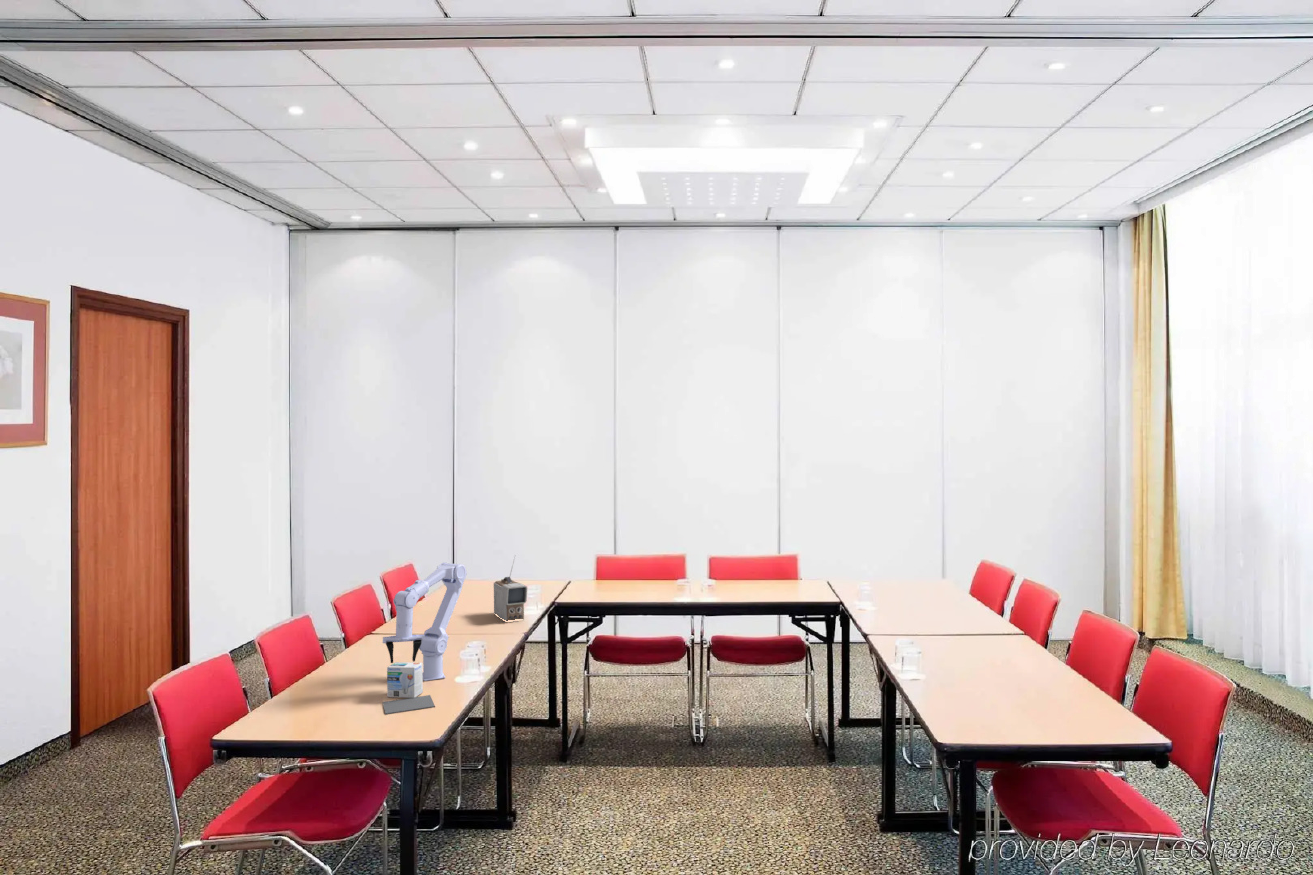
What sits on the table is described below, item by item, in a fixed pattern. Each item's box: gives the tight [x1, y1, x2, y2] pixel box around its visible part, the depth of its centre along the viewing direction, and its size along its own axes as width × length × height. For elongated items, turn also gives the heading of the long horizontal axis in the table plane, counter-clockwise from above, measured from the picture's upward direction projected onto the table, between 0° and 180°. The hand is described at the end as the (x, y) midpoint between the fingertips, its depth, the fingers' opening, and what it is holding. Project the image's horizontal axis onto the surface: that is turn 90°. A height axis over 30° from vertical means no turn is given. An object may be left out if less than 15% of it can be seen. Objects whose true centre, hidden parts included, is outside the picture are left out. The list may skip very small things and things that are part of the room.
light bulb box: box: [386, 661, 424, 699], centre depth 276 cm, size 11×7×11 cm, turn 82°
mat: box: [382, 694, 436, 715], centre depth 266 cm, size 12×16×1 cm
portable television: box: [493, 554, 528, 621], centre depth 387 cm, size 12×24×30 cm, turn 29°
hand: (402, 661), depth 283 cm, fingers open, 7 cm apart
